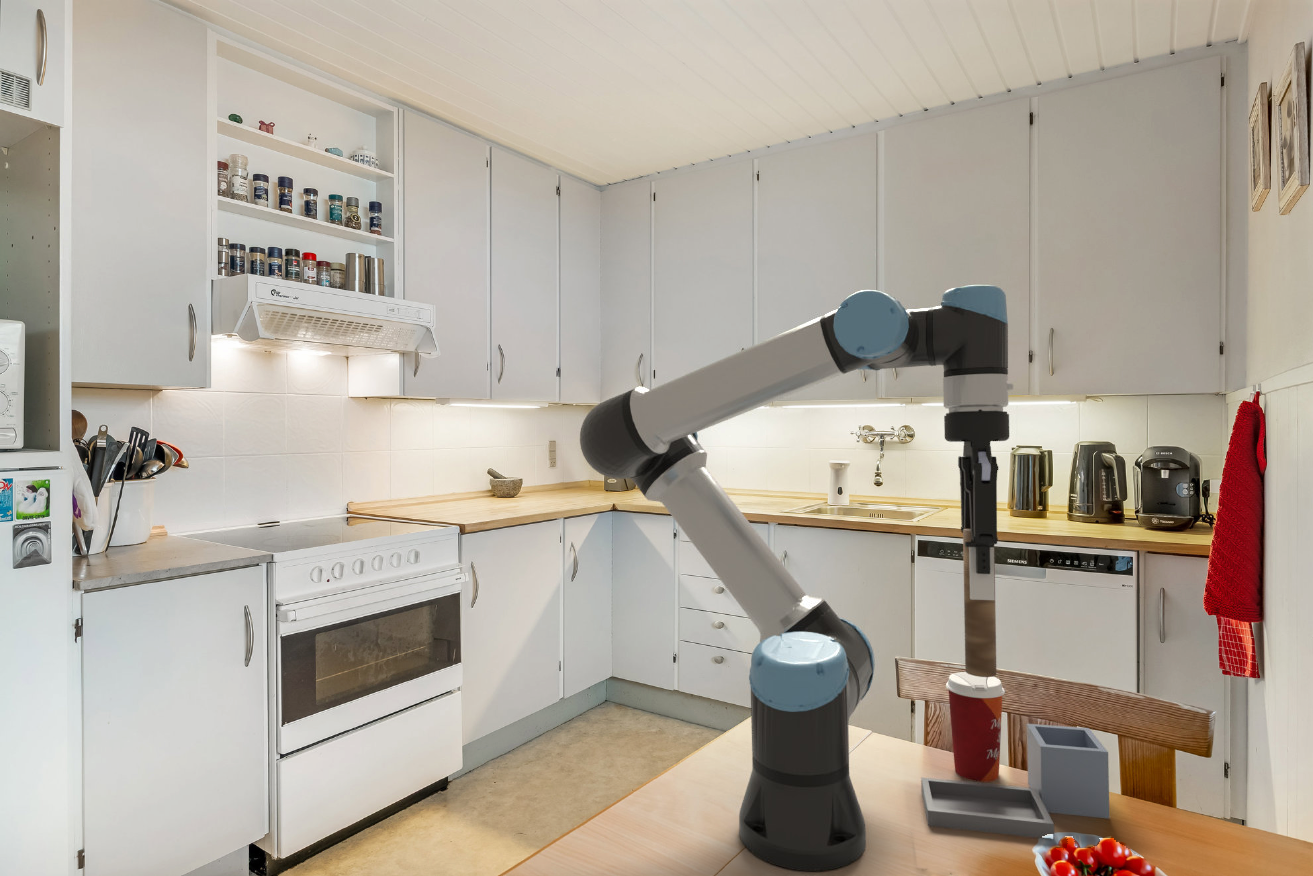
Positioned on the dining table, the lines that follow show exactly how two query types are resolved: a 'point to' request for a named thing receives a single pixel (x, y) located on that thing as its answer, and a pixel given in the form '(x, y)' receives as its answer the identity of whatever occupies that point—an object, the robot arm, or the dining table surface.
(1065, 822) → the dining table surface
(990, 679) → the paper cup
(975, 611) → the dowel
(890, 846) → the dining table surface
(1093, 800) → the open grey box
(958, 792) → the tray
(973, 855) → the dining table surface
